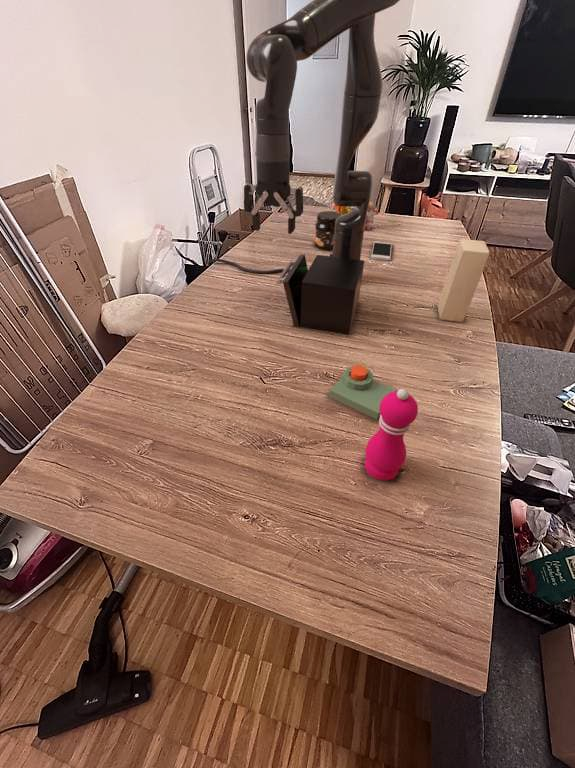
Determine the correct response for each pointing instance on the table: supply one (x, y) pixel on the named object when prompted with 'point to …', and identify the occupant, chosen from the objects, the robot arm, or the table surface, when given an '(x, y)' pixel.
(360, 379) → the button
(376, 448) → the pepper mill
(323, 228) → the supplement container
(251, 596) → the table surface
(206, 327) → the table surface
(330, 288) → the oven
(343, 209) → the doll family
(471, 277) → the tall wooden block
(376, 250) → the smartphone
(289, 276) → the oven door
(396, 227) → the table surface
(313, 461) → the table surface
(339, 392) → the switch block
